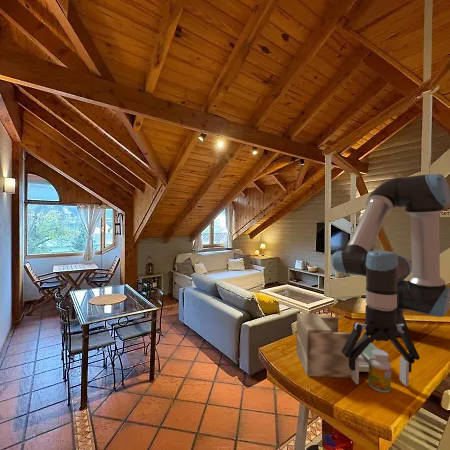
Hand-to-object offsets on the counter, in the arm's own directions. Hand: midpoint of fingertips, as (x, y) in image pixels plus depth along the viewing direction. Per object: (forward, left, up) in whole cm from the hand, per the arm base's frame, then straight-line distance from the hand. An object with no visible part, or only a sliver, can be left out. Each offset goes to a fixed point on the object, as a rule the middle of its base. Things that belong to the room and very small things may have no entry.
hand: (379, 382), depth 73 cm
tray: (+3, -11, -1) cm, 11 cm away
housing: (+12, -11, -1) cm, 16 cm away
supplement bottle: (0, 0, -2) cm, 2 cm away
